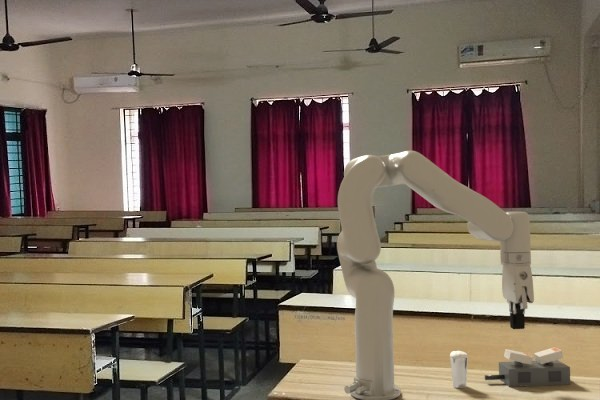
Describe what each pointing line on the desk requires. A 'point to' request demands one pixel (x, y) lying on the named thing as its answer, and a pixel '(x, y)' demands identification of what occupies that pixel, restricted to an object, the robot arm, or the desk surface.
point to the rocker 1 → (518, 356)
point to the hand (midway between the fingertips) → (517, 328)
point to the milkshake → (459, 368)
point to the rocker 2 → (548, 355)
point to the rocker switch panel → (532, 374)
